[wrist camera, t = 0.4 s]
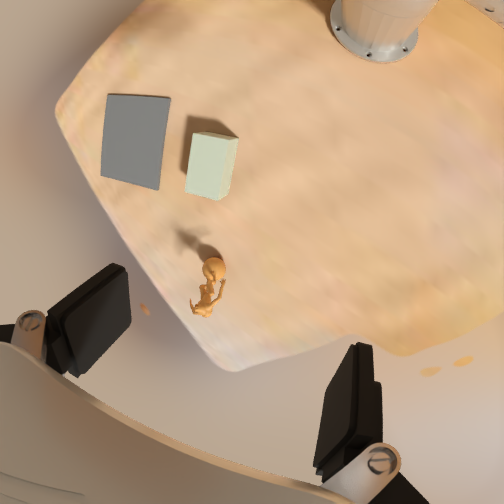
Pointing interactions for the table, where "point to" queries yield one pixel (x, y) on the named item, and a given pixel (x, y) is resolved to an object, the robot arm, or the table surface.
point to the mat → (134, 139)
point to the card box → (211, 164)
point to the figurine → (209, 286)
